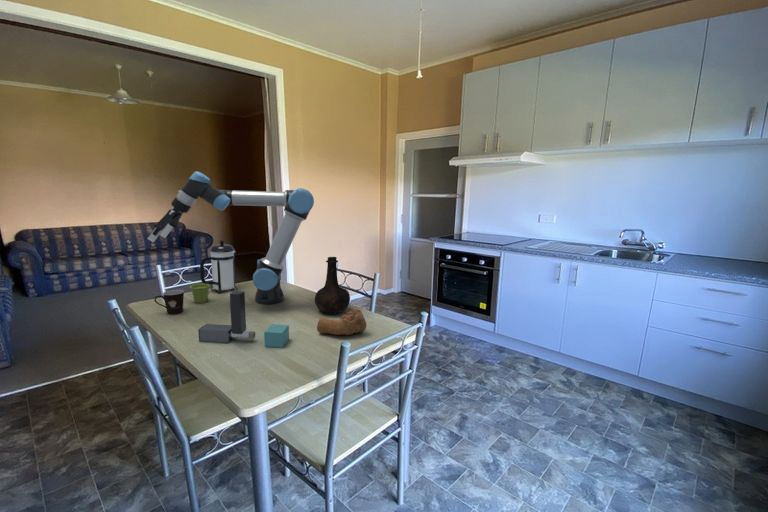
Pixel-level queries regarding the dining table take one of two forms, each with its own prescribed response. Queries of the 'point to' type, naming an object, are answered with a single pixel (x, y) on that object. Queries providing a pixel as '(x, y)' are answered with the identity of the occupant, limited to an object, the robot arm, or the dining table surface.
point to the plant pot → (200, 292)
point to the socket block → (276, 335)
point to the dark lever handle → (239, 316)
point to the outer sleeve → (215, 333)
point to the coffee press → (220, 267)
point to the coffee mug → (173, 301)
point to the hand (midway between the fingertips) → (156, 238)
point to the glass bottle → (332, 292)
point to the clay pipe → (343, 324)
